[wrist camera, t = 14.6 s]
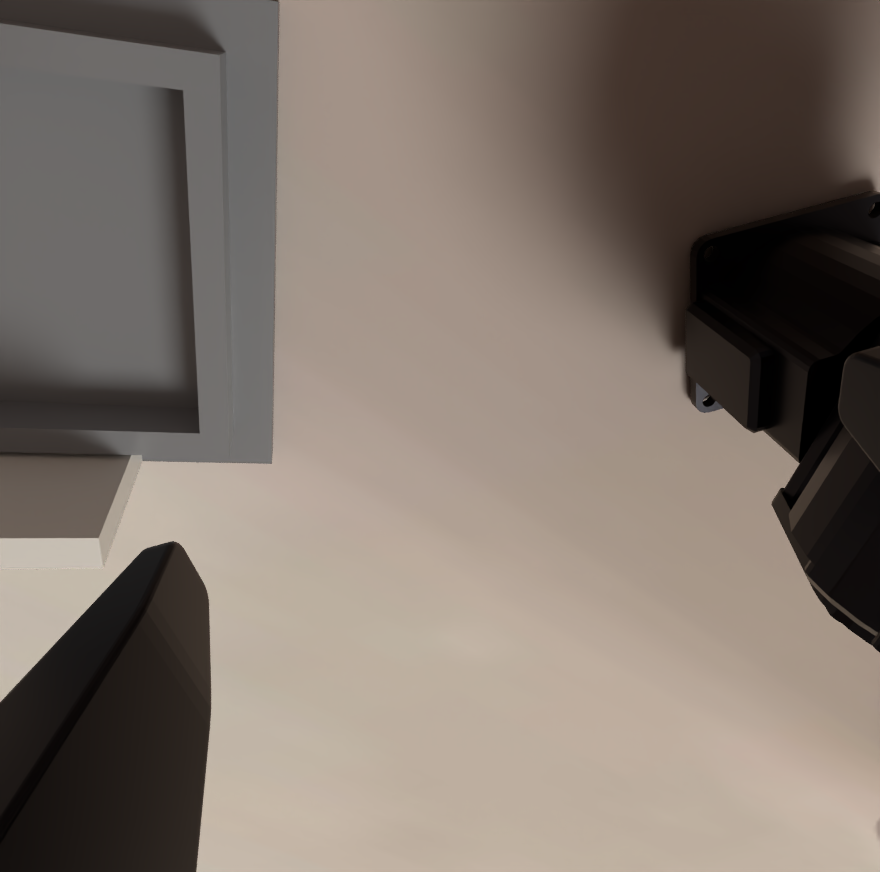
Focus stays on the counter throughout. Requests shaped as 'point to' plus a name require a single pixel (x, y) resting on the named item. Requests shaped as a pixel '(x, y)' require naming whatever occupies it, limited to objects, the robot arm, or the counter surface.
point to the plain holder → (130, 256)
